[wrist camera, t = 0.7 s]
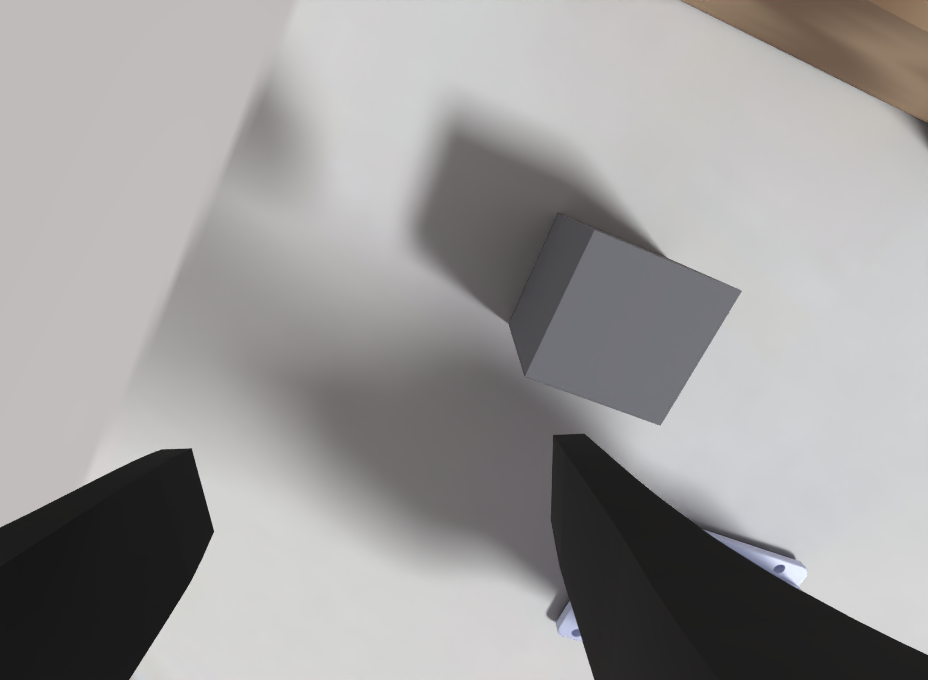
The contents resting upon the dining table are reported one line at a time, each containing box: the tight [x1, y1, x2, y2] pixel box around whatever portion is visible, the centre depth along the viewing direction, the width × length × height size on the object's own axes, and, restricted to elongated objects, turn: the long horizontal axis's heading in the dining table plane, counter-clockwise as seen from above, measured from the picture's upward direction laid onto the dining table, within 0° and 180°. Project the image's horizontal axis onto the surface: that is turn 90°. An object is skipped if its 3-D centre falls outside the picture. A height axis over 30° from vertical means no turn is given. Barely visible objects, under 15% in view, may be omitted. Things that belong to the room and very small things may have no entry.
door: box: [682, 0, 928, 123], centre depth 13 cm, size 14×2×4 cm, turn 69°
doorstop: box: [509, 213, 741, 425], centre depth 16 cm, size 4×4×5 cm
